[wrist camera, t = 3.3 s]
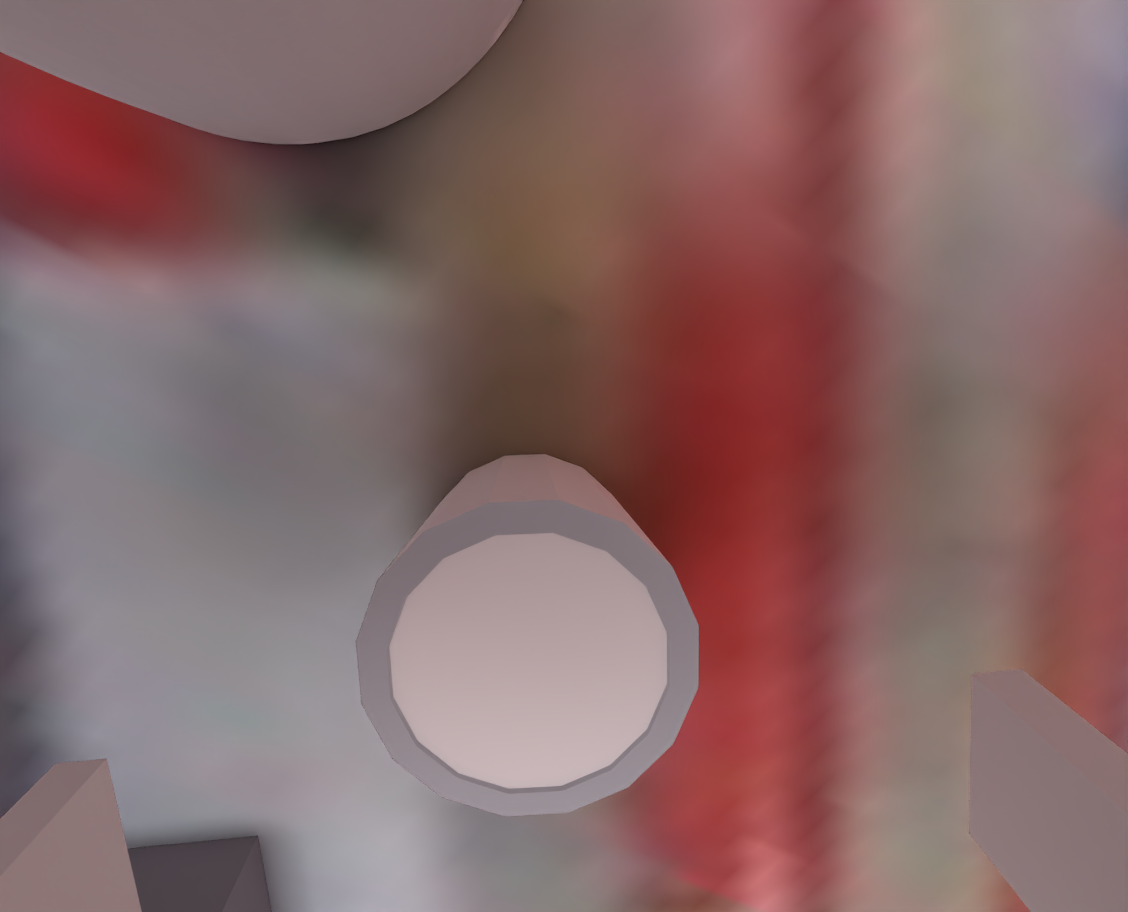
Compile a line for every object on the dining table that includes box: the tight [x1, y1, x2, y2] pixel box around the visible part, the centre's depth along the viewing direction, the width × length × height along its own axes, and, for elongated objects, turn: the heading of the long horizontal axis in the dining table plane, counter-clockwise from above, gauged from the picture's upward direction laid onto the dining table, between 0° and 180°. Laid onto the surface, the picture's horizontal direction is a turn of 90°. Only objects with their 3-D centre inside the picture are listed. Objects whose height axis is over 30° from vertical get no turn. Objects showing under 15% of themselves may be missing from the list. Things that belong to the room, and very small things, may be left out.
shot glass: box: [356, 454, 699, 816], centre depth 20 cm, size 7×7×7 cm
